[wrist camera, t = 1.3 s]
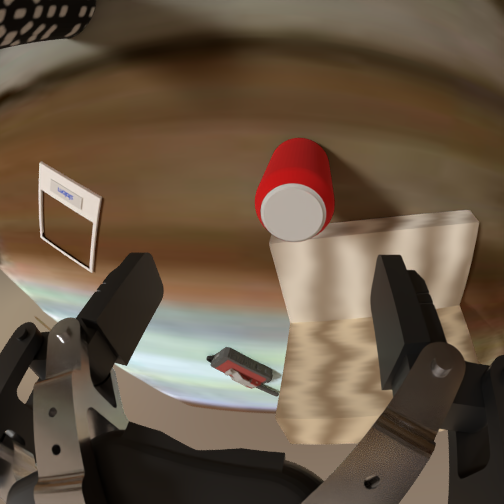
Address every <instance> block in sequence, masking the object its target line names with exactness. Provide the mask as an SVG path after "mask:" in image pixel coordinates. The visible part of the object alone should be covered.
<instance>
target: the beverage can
mask: <svg viewBox="0 0 504 504" xmlns="http://www.w3.org/2000/svg"><path fill="white" fill-rule="evenodd" d="M334 206H335V200H334V193H333V186H332V179H331V173H330V166H329V160H328V157H327V155H326V153H325V151H324V150H323V149H322V147H320V146H319V145H318V144H317V143H315V142H314V141H312V140H309V139H305V138H293V139H290V140H287V141H285V142H283V143H282V144H281V145H279V146H278V147H277V149H276V150H275V151H274V153H273V155H272V158H271V160H270V162H269V164H268V166H267V169H266V171H265V173H264V175H263V177H262V180H261V182H260V184H259V186H258V189H257V192H256V196H255V209H256V213H257V216H258V218H259V220H260V222H261V223H262V225H263V226H264V227H265V228H266V229H267V230H268V231H269V232H270V233H271V234H272V235H273V236H275V237H276V238H278V239H281V240H283V241H287V242H302V241H306V240H308V239H311V238H313V237H314V236H316V235H318V234H319V233H321V232H322V231H323V230H324V229H325V228H326V227H327V225H328V224H329V222H330V220H331V218H332V216H333V212H334Z"/></svg>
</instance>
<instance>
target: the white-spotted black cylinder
mask: <svg viewBox="0 0 504 504" xmlns="http://www.w3.org/2000/svg"><path fill="white" fill-rule="evenodd" d="M95 4H96V0H0V49H3V48H7V47H11V46H16V45H21V44H27V43H33V42H39V41H46V40H55V39H65V38H71V37H74V36H76V35H77V34H79V33H80V32H81V31H82V30H83V29H84V28H85V27H86V25H87V24H88V22H89V21H90V19H91V17H92V15H93V12H94V9H95Z"/></svg>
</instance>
